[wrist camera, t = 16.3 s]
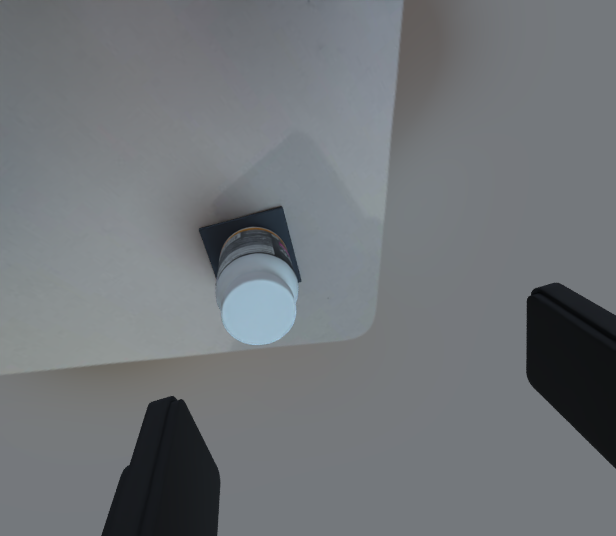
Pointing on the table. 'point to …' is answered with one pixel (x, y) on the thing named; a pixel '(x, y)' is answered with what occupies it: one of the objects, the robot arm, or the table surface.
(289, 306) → the pill bottle
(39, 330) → the table surface
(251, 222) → the mat
